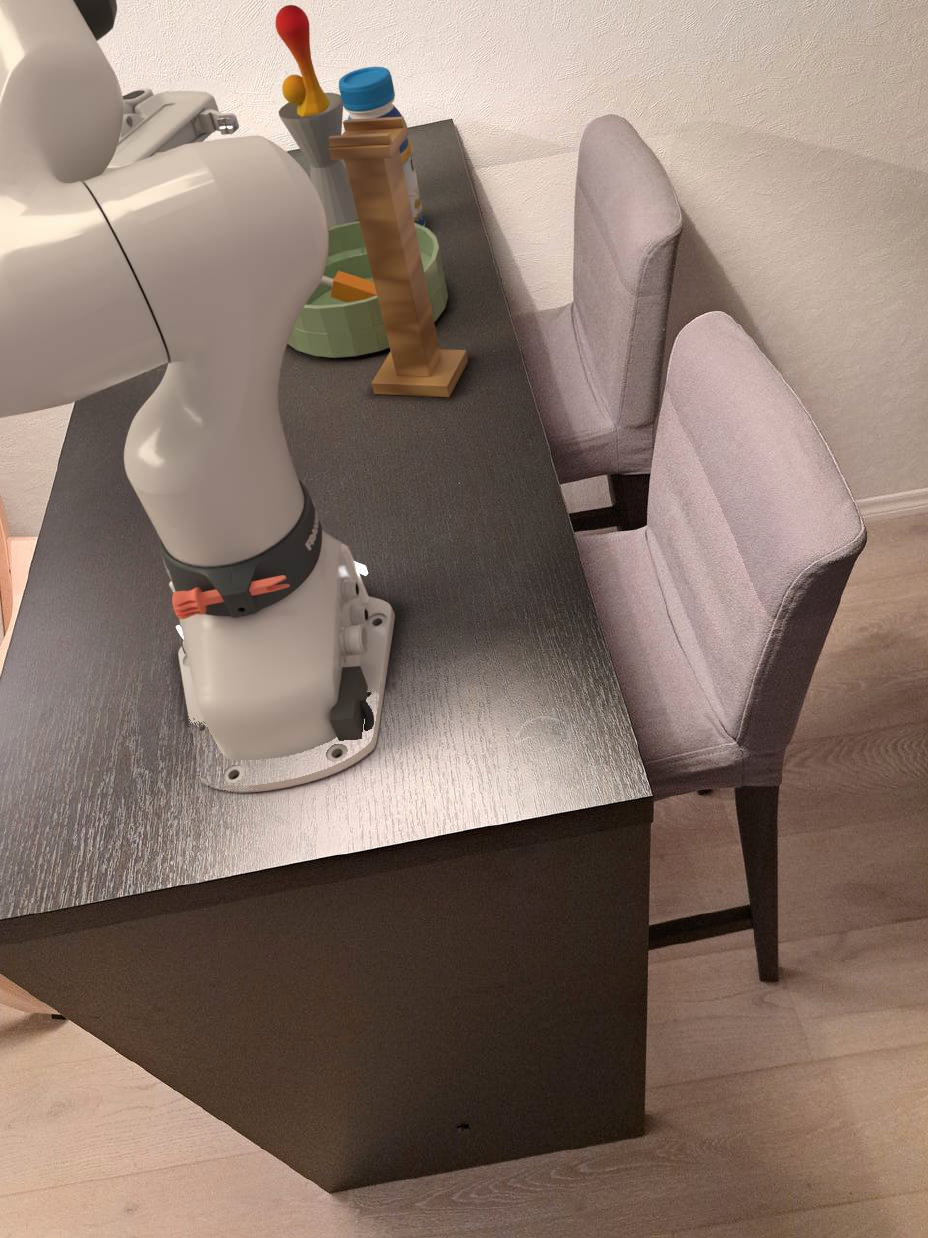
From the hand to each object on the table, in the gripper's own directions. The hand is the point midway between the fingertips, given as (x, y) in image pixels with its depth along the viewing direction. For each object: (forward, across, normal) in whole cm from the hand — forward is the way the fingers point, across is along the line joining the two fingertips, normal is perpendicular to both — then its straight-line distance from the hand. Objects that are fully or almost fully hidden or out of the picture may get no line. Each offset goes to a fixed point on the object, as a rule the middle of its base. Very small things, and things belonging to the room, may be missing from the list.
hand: (216, 140), depth 106 cm
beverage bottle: (+10, +21, +22) cm, 32 cm away
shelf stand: (+25, -13, +21) cm, 35 cm away
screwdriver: (+9, -1, +17) cm, 20 cm away
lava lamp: (-2, +27, +22) cm, 35 cm away
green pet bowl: (+13, 0, +21) cm, 25 cm away
